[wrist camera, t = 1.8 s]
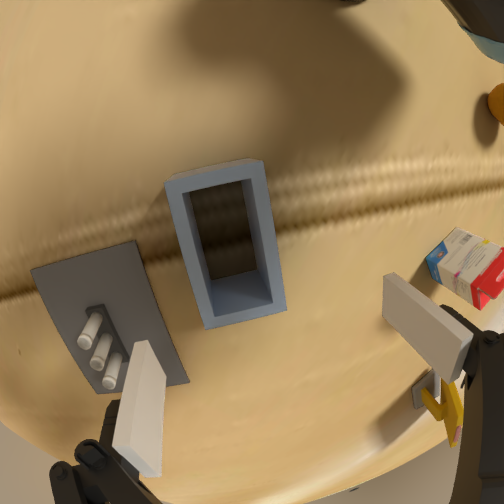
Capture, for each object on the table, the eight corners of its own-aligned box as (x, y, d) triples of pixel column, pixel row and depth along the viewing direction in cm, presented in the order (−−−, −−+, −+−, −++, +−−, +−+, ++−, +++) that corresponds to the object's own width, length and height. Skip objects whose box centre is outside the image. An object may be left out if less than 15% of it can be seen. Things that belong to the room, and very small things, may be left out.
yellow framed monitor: (438, 396, 56) (470, 435, 41) (414, 414, 56) (444, 456, 41) (438, 354, 48) (481, 400, 34) (409, 376, 48) (450, 427, 34)
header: (31, 269, 29) (5, 293, 23) (135, 240, 31) (120, 263, 24) (97, 392, 37) (88, 424, 31) (189, 381, 39) (190, 416, 32)
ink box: (431, 278, 40) (493, 323, 27) (424, 256, 38) (492, 300, 25) (462, 247, 40) (525, 282, 26) (456, 224, 38) (525, 256, 24)
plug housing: (173, 174, 29) (163, 182, 22) (247, 157, 30) (263, 160, 22) (203, 291, 34) (205, 330, 27) (269, 276, 35) (287, 310, 27)
